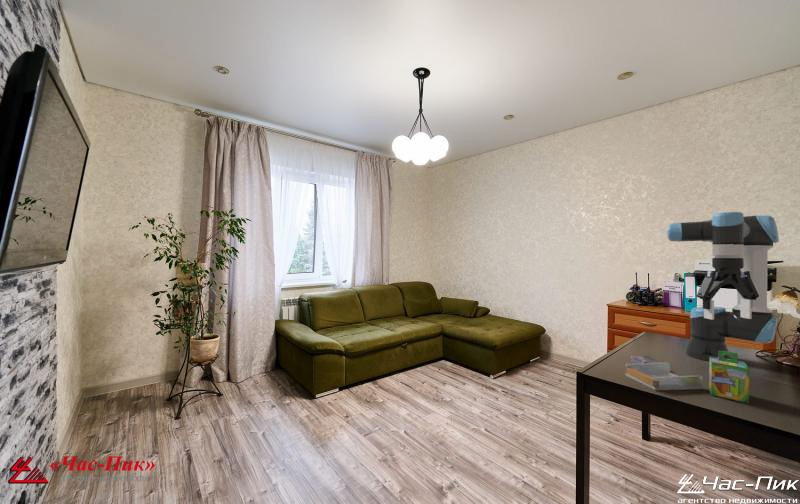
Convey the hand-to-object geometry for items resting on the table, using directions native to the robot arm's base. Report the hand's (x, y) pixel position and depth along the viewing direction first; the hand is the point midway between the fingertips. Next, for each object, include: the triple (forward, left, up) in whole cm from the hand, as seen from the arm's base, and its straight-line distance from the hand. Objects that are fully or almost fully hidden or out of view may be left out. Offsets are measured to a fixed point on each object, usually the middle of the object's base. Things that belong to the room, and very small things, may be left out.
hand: (727, 318), depth 109 cm
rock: (+7, -26, -27) cm, 38 cm away
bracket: (+13, -12, -26) cm, 32 cm away
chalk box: (0, 0, -27) cm, 27 cm away
